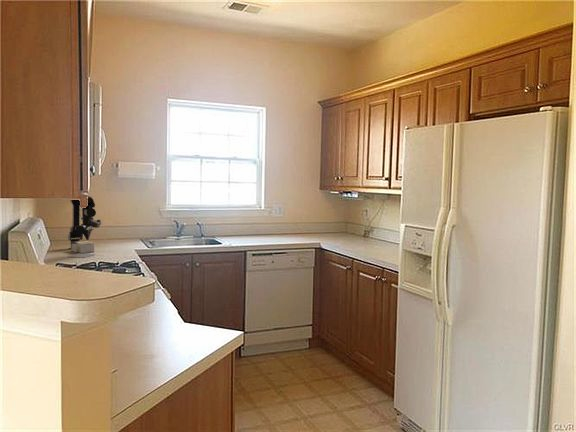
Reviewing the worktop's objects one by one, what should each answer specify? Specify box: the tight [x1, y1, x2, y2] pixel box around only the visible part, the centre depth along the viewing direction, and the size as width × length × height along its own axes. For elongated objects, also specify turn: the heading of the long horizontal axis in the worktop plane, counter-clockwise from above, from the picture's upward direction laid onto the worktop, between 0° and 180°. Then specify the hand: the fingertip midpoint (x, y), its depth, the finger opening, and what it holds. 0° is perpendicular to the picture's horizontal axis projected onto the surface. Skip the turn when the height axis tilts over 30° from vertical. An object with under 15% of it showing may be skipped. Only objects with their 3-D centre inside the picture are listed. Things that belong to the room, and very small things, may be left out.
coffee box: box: [70, 240, 95, 254], centre depth 331 cm, size 9×6×16 cm
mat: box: [67, 253, 96, 259], centre depth 313 cm, size 12×12×1 cm
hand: (87, 239), depth 319 cm, fingers closed
